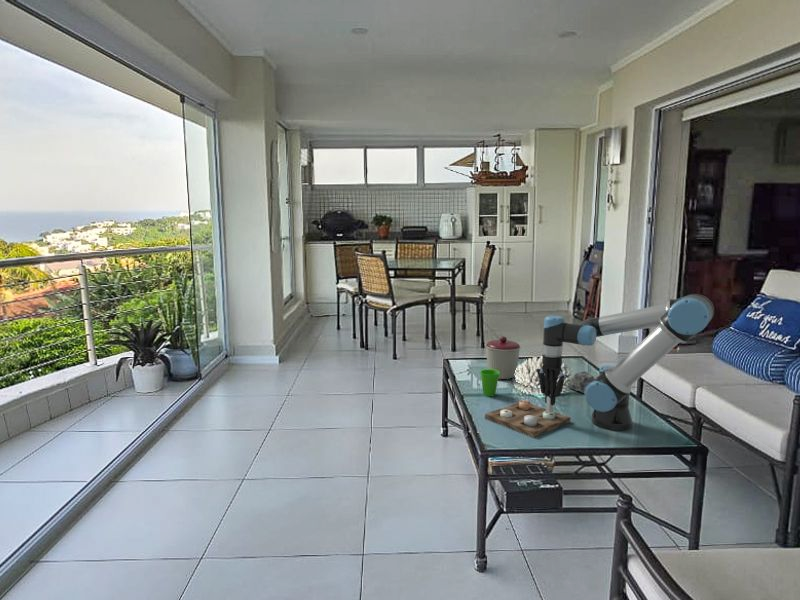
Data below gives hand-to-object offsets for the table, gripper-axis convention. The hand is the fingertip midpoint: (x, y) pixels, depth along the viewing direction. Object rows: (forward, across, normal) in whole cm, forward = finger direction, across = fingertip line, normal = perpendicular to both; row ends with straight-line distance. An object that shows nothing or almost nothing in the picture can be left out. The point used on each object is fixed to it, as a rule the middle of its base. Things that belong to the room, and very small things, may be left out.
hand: (549, 411), depth 218 cm
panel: (+4, +6, +6) cm, 10 cm away
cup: (+4, +36, -5) cm, 37 cm away
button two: (+4, 0, 0) cm, 4 cm away
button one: (+4, +12, +12) cm, 18 cm away
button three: (+2, +12, 0) cm, 12 cm away
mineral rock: (+4, +13, -44) cm, 46 cm away
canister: (+4, +50, -31) cm, 59 cm away
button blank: (+3, 0, +12) cm, 12 cm away
